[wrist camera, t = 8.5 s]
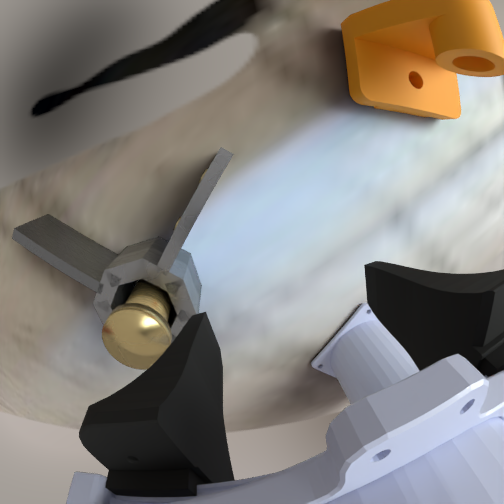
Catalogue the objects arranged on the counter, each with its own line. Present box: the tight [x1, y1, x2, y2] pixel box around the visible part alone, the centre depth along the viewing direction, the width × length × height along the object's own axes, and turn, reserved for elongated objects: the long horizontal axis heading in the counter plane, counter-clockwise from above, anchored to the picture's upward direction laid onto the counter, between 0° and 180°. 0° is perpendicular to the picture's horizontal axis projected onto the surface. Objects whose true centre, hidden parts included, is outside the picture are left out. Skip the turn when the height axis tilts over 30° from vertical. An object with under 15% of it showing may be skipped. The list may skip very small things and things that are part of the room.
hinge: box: [12, 147, 234, 343], centre depth 18 cm, size 14×14×5 cm
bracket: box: [341, 0, 504, 120], centre depth 13 cm, size 11×7×12 cm, turn 93°
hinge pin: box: [102, 279, 172, 369], centre depth 18 cm, size 4×4×8 cm
